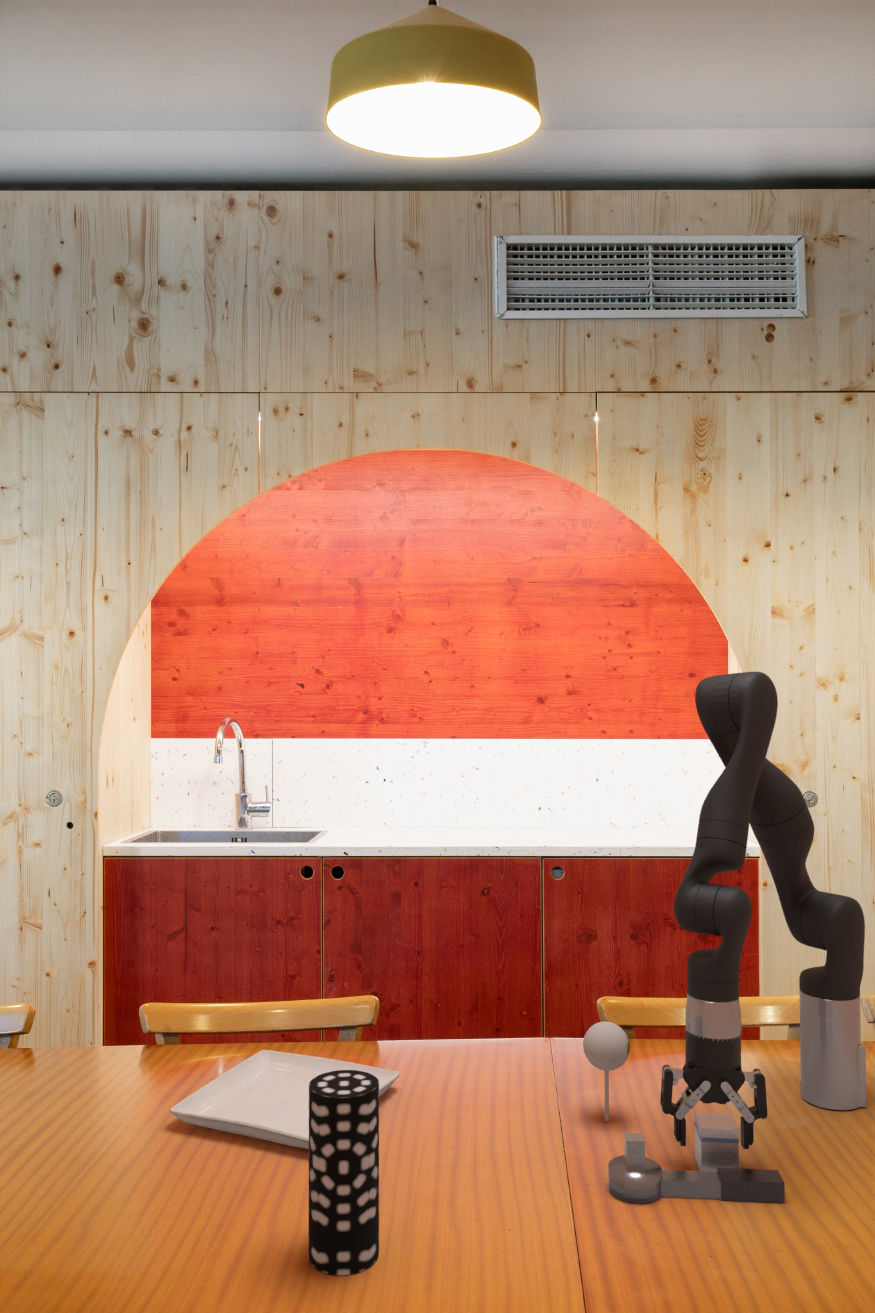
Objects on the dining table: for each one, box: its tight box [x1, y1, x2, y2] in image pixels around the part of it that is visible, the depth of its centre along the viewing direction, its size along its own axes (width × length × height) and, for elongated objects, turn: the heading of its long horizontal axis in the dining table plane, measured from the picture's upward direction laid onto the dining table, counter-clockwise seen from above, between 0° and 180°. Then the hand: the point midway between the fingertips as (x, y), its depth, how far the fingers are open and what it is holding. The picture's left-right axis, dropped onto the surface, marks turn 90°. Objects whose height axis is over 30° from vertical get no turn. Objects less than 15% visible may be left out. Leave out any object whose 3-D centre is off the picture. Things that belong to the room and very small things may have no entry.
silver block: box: [694, 1112, 740, 1172], centre depth 137 cm, size 5×5×6 cm
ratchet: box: [607, 1132, 786, 1205], centre depth 130 cm, size 22×7×7 cm, turn 85°
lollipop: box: [582, 1021, 631, 1122], centre depth 152 cm, size 7×7×15 cm
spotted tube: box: [308, 1070, 380, 1276], centre depth 116 cm, size 8×8×20 cm
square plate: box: [169, 1049, 401, 1150], centre depth 156 cm, size 27×27×4 cm
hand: (713, 1145), depth 137 cm, fingers open, 8 cm apart
